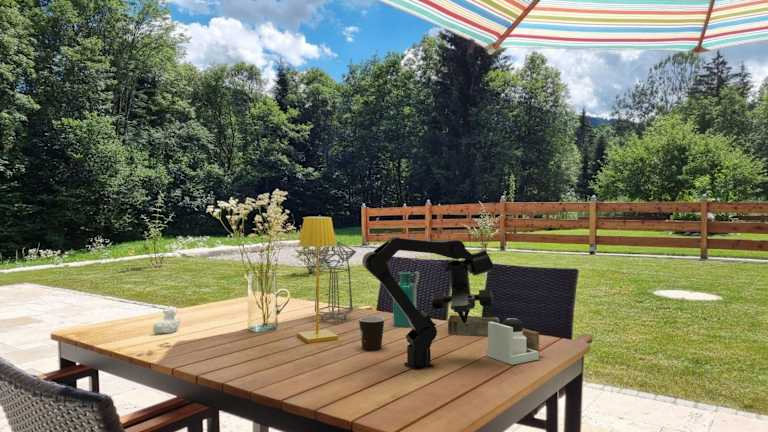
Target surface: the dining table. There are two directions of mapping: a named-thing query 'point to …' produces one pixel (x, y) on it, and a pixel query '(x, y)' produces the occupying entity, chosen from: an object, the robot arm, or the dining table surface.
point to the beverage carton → (470, 325)
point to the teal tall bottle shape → (410, 291)
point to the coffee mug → (371, 333)
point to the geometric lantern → (334, 279)
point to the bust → (167, 322)
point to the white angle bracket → (505, 345)
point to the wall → (532, 339)
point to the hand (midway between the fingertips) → (464, 322)
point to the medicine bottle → (517, 336)
